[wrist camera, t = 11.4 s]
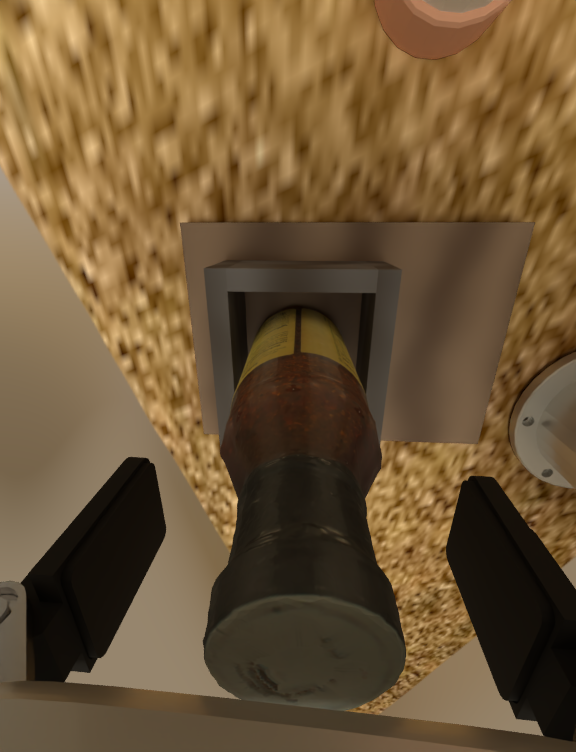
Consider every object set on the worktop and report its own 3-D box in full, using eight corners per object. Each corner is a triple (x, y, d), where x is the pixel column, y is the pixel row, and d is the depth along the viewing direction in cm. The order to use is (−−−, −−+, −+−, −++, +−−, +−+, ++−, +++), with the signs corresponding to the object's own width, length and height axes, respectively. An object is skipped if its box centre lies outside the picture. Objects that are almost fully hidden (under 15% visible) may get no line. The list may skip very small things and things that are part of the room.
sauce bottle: (257, 382, 26) (136, 735, 8) (255, 300, 24) (76, 543, 6) (343, 386, 26) (420, 762, 8) (351, 303, 23) (493, 571, 5)
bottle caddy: (521, 222, 22) (598, 220, 16) (469, 433, 28) (511, 487, 23) (187, 223, 23) (145, 220, 18) (209, 424, 30) (183, 473, 24)
